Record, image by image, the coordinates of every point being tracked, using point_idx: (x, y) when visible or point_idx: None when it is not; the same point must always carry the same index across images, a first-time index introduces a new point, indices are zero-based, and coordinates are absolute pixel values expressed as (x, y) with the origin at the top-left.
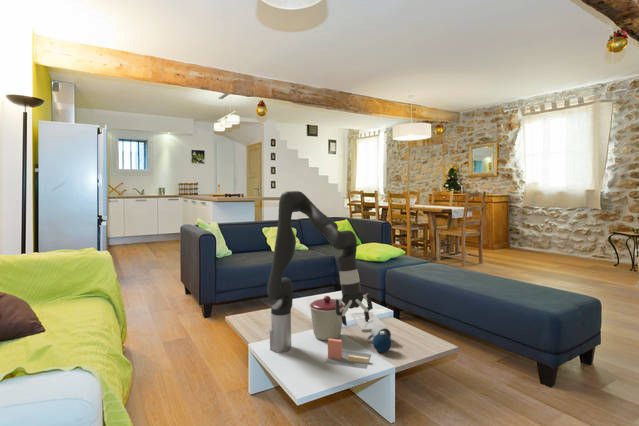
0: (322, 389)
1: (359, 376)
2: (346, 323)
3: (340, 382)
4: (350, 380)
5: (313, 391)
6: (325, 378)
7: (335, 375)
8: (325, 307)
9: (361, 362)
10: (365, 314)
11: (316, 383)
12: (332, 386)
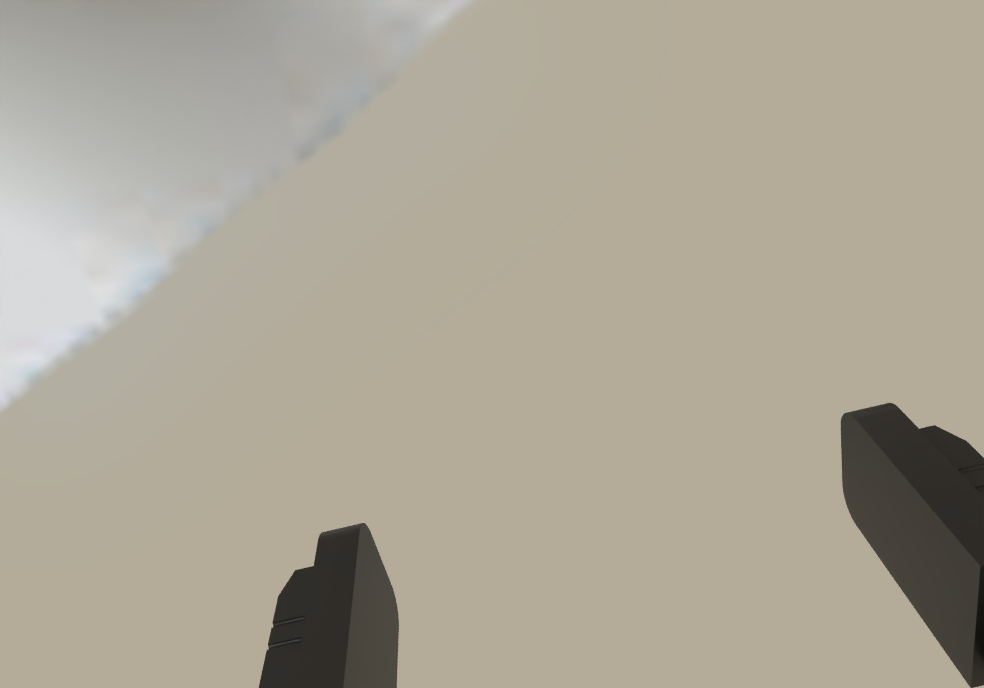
0: (118, 291)
1: (444, 4)
2: (394, 646)
3: (260, 151)
4: (355, 100)
5: (46, 333)
6: (79, 96)
7: (175, 14)
8: None
9: None
10: (938, 631)
11: (18, 206)
12: (198, 231)
